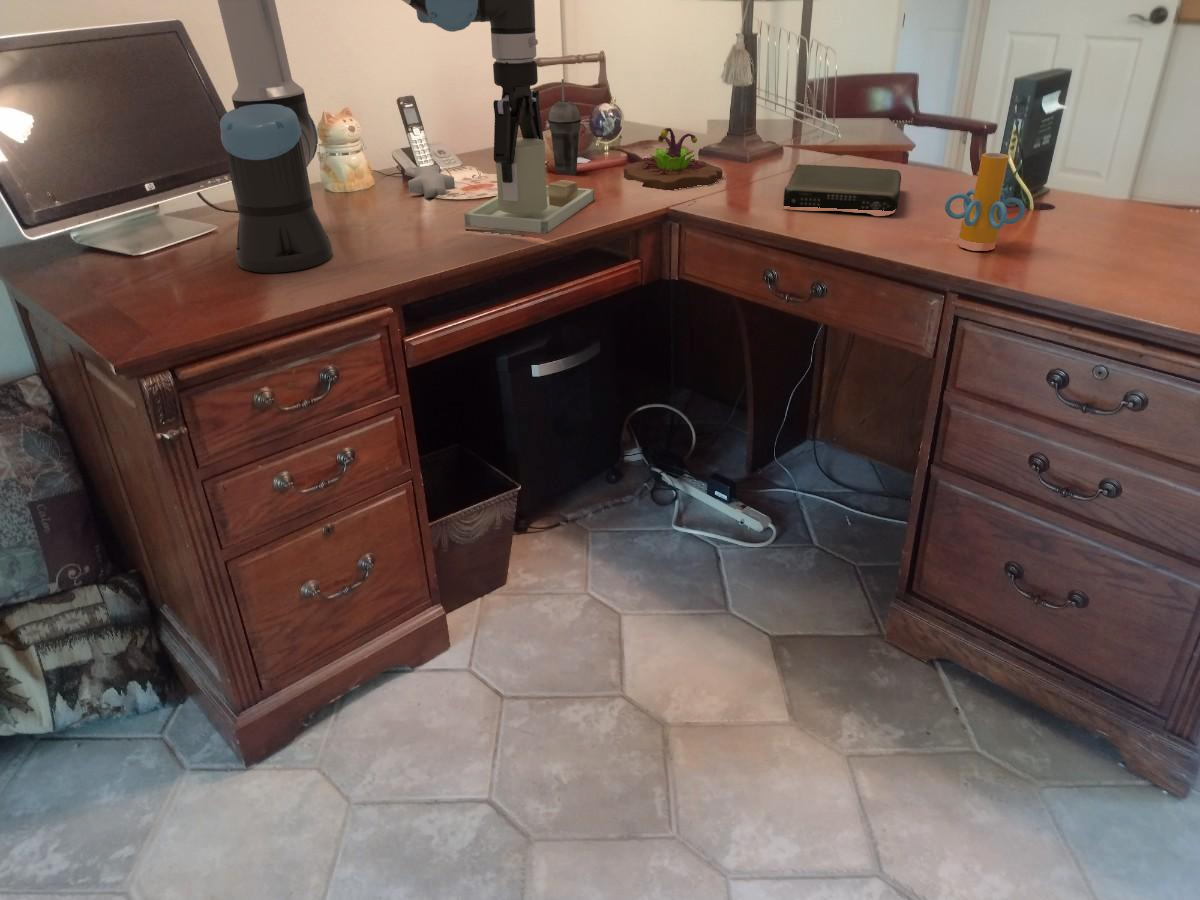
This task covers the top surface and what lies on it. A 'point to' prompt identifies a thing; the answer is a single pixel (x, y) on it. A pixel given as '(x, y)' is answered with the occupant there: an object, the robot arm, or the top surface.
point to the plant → (672, 167)
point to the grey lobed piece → (429, 181)
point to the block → (562, 192)
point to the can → (526, 178)
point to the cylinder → (986, 202)
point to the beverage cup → (565, 135)
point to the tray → (525, 215)
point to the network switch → (843, 188)
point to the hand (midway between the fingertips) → (522, 193)
